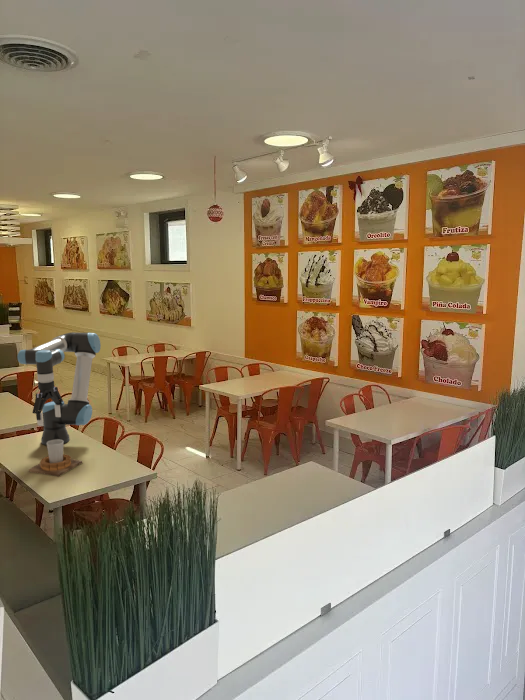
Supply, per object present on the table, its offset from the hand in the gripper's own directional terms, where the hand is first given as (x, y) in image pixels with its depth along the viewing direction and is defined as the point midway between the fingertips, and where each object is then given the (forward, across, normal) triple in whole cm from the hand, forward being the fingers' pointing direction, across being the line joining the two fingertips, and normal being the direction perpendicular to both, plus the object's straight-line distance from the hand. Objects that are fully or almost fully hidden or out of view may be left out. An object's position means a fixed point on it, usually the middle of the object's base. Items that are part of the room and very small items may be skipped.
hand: (49, 421), depth 269 cm
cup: (+21, +5, +6) cm, 22 cm away
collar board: (+22, +6, +6) cm, 24 cm away
